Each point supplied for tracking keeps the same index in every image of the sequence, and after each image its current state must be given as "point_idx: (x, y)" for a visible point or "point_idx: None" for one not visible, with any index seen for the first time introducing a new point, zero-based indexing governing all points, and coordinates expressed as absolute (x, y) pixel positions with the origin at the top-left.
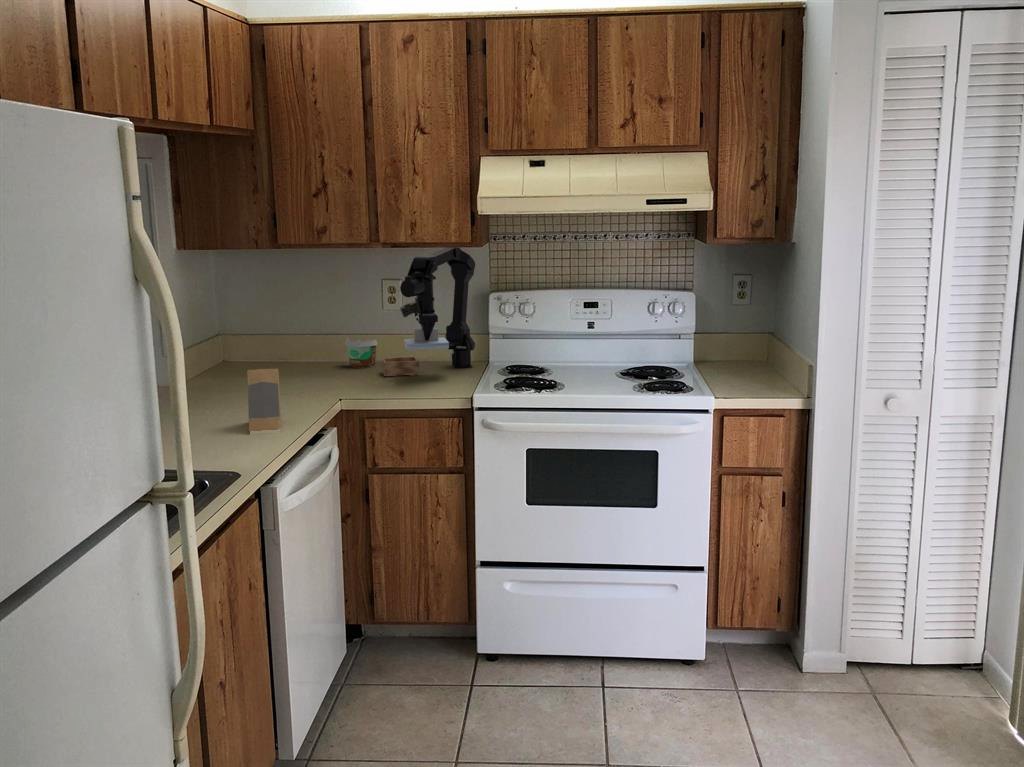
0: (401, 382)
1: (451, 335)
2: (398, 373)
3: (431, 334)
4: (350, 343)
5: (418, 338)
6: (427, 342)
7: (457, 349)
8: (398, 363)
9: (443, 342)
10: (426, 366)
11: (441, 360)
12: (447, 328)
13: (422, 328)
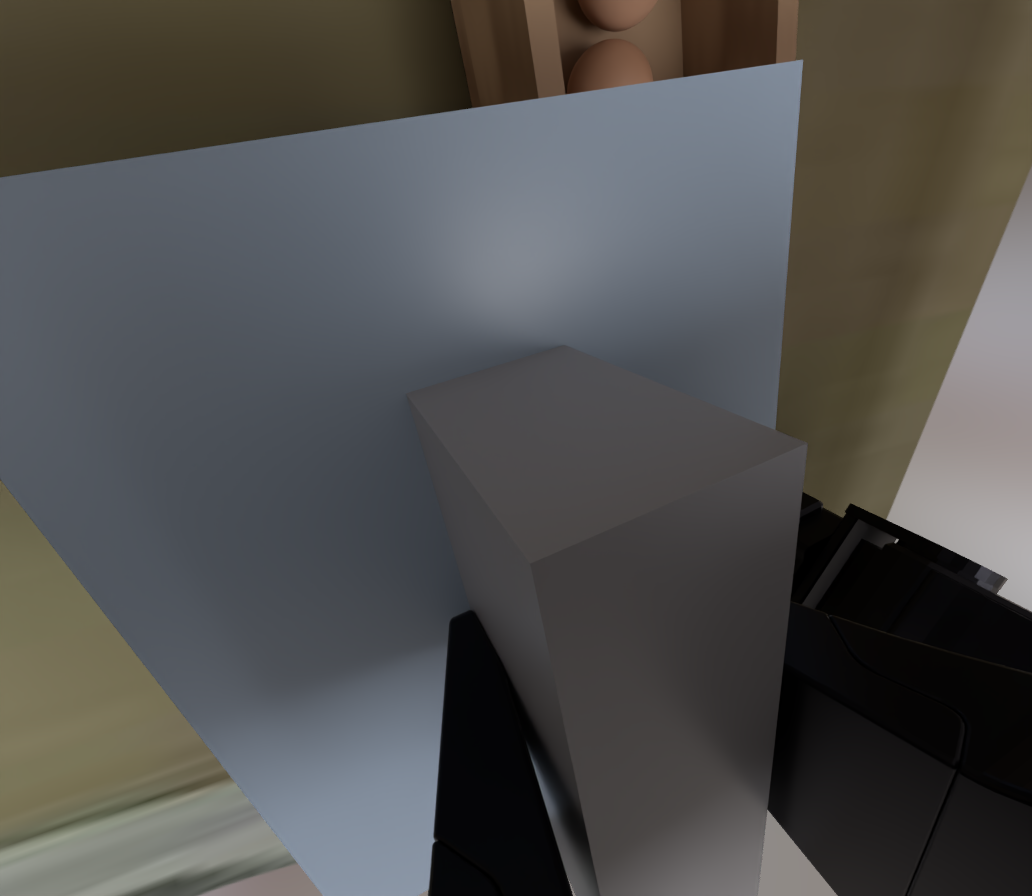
0: (106, 137)
1: (911, 634)
2: (478, 77)
3: (543, 798)
4: None
5: (451, 514)
6: (331, 676)
7: (809, 573)
8: (522, 48)
9: (342, 886)
10: (787, 309)
11: (900, 374)
12: (1029, 638)
13: (804, 689)
